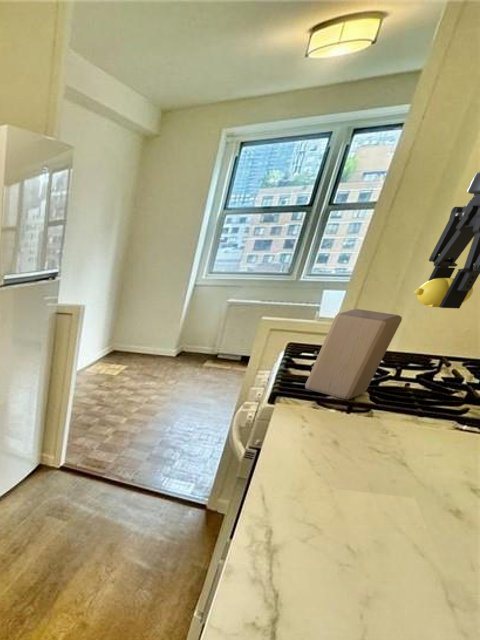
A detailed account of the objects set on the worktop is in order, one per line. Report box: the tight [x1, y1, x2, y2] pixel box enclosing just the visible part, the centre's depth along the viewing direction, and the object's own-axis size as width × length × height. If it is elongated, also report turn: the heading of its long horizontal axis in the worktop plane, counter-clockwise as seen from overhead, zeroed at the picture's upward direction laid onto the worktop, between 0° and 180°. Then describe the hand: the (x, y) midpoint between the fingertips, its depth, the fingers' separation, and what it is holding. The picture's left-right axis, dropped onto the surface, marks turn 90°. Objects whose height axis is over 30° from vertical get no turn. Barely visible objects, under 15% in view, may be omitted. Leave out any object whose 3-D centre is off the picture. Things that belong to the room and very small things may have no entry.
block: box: [304, 308, 403, 401], centre depth 121 cm, size 10×10×20 cm
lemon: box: [413, 277, 474, 308], centre depth 94 cm, size 8×5×5 cm, turn 75°
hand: (438, 304), depth 95 cm, fingers closed on lemon, 5 cm apart
